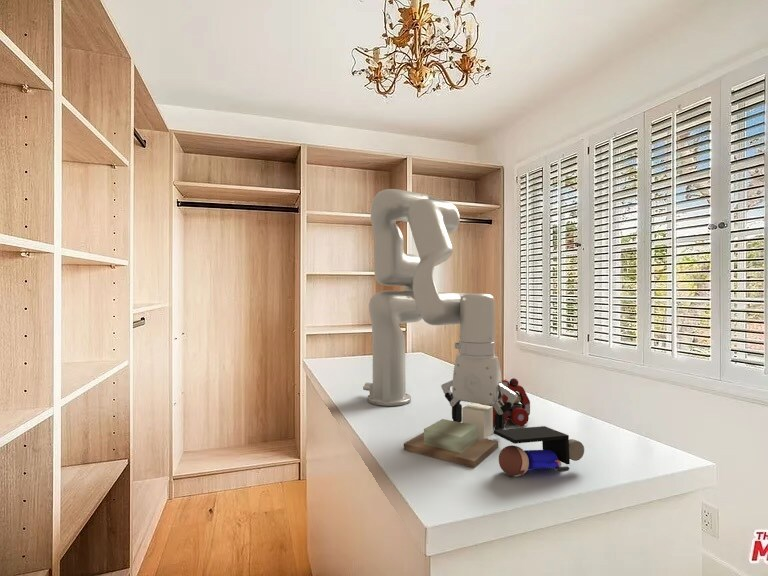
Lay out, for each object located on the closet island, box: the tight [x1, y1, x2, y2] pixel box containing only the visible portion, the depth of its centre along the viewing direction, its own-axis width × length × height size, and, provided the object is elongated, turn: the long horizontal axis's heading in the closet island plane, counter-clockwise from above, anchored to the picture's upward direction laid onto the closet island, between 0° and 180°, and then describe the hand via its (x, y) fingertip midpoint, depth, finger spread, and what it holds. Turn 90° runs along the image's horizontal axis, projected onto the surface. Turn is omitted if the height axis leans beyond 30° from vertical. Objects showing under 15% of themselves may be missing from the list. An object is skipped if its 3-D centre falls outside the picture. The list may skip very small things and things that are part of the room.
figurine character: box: [492, 425, 585, 478], centre depth 74 cm, size 7×8×15 cm
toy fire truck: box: [481, 377, 531, 427], centre depth 101 cm, size 7×12×10 cm, turn 97°
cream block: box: [461, 402, 494, 439], centre depth 92 cm, size 5×5×6 cm
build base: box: [403, 418, 499, 469], centre depth 84 cm, size 15×12×4 cm
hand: (477, 427), depth 92 cm, fingers open, 9 cm apart
